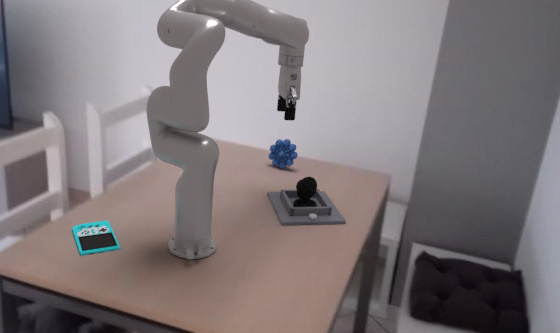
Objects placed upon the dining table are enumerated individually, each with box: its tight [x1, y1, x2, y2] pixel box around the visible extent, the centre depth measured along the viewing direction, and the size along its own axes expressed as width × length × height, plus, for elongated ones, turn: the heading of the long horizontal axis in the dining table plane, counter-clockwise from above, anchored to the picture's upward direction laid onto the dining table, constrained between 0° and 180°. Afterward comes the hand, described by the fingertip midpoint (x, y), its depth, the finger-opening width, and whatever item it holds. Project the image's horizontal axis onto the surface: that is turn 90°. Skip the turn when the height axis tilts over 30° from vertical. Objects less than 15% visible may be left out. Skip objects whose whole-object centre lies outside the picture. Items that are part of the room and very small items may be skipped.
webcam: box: [293, 176, 318, 207], centre depth 169 cm, size 8×8×10 cm
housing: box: [266, 188, 347, 226], centre depth 171 cm, size 22×20×4 cm
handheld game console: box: [72, 220, 121, 256], centre depth 143 cm, size 10×16×1 cm, turn 28°
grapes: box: [268, 138, 298, 170], centre depth 201 cm, size 12×7×12 cm, turn 64°
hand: (285, 115), depth 167 cm, fingers open, 9 cm apart
